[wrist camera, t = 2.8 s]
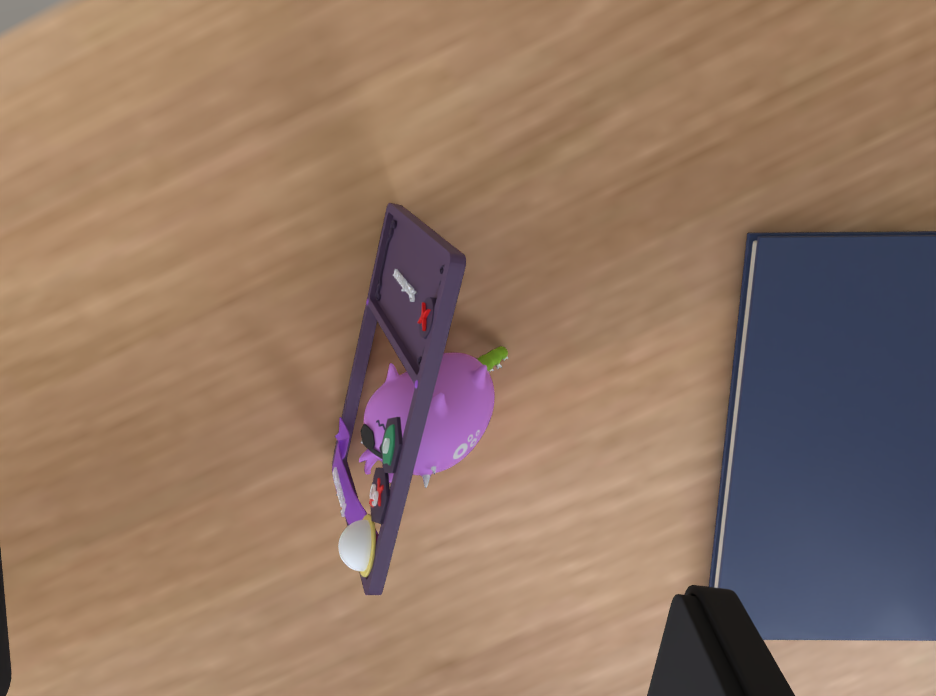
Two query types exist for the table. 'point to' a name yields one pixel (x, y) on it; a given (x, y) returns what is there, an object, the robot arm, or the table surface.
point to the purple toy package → (408, 389)
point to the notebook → (832, 438)
